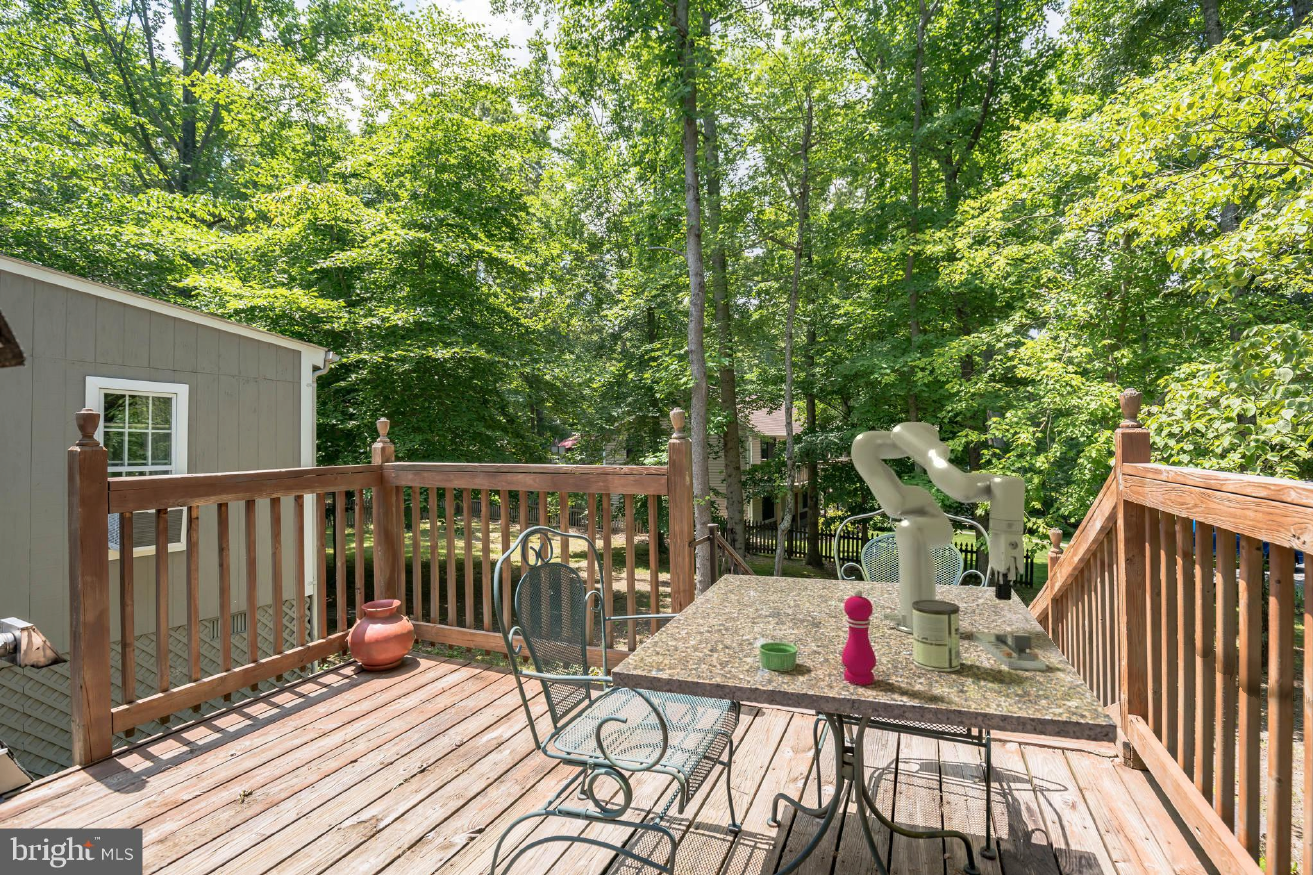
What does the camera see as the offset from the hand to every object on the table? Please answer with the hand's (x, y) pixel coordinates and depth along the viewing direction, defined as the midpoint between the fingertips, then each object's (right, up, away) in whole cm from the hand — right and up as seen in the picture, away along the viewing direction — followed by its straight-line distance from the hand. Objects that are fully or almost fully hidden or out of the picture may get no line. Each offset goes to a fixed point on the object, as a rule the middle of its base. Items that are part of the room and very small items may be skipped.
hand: (1003, 598), depth 162 cm
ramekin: (-58, -14, -9) cm, 60 cm away
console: (0, -13, -1) cm, 13 cm away
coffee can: (-20, -14, -9) cm, 26 cm away
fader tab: (0, -11, -9) cm, 14 cm away
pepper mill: (-42, -13, -19) cm, 48 cm away
